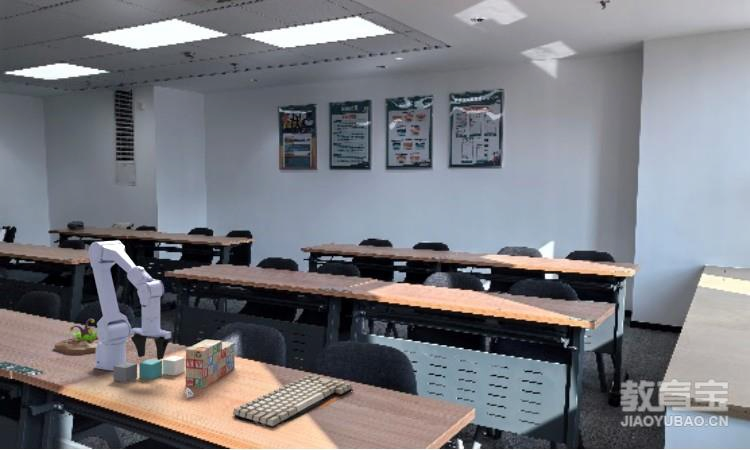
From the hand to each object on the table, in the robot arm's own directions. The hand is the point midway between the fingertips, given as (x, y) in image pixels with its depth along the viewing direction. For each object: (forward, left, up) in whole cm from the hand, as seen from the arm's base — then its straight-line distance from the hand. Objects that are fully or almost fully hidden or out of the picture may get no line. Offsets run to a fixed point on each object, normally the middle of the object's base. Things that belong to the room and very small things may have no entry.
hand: (151, 357), depth 188 cm
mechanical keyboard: (+55, -3, -7) cm, 56 cm away
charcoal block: (-5, -6, -6) cm, 10 cm away
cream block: (+4, +6, -6) cm, 10 cm away
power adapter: (+24, -10, -7) cm, 27 cm away
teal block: (0, 0, -6) cm, 6 cm away
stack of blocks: (+19, +7, -7) cm, 21 cm away
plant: (-47, +19, -7) cm, 51 cm away
